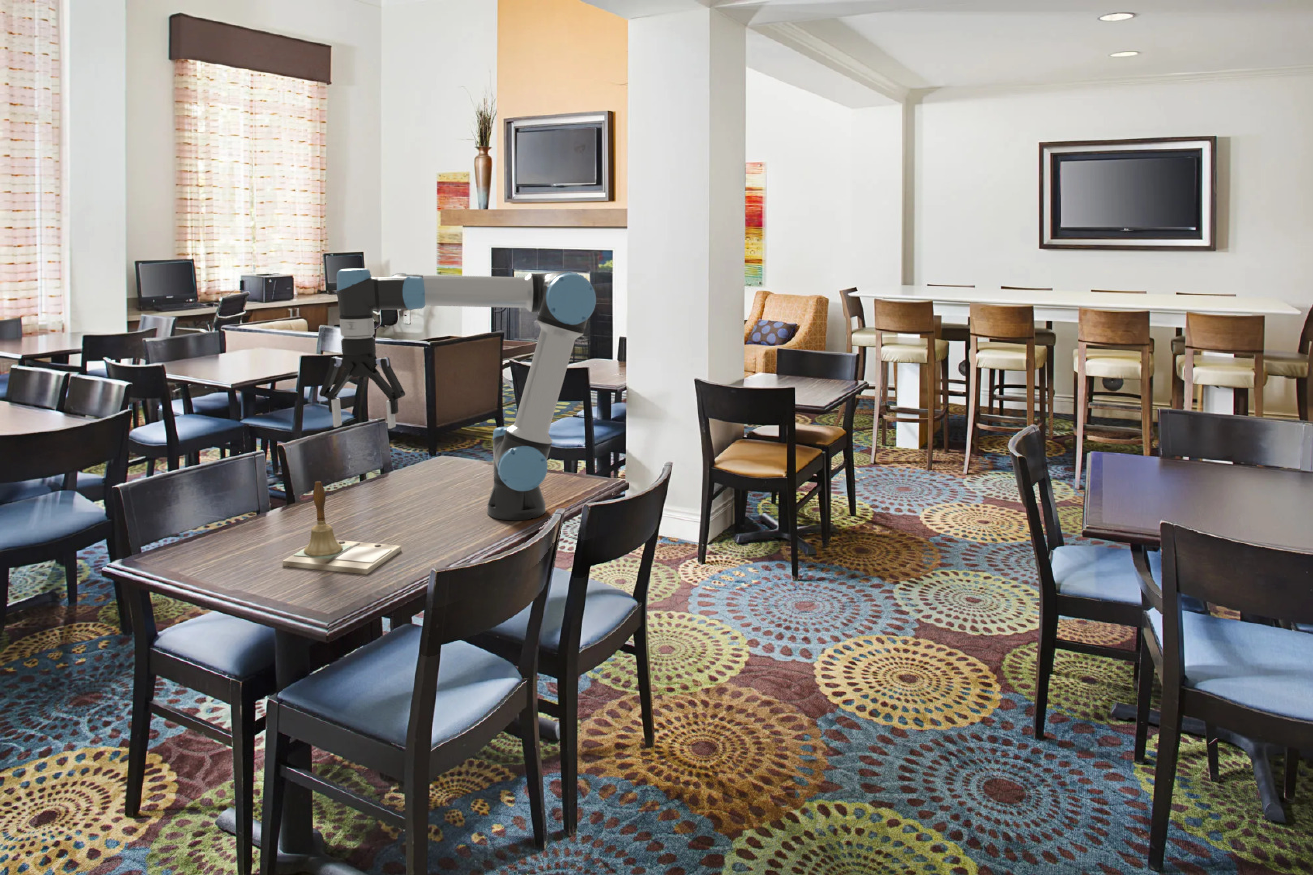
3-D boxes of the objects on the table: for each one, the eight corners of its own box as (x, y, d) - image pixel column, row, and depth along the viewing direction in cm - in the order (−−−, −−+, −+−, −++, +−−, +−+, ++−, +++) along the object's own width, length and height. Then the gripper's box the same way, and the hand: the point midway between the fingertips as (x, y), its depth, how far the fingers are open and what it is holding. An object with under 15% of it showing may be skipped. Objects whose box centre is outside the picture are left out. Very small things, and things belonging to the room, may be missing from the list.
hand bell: (305, 558, 211) (301, 487, 207) (302, 546, 218) (298, 478, 215) (344, 553, 214) (341, 484, 211) (340, 542, 221) (336, 475, 218)
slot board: (401, 550, 221) (400, 544, 221) (367, 574, 206) (366, 567, 205) (322, 543, 225) (321, 537, 225) (282, 565, 210) (282, 559, 209)
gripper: (299, 338, 220) (307, 428, 224) (402, 339, 216) (408, 431, 220) (315, 334, 227) (323, 422, 232) (415, 335, 223) (421, 424, 228)
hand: (364, 426), depth 226 cm, fingers open, 13 cm apart
